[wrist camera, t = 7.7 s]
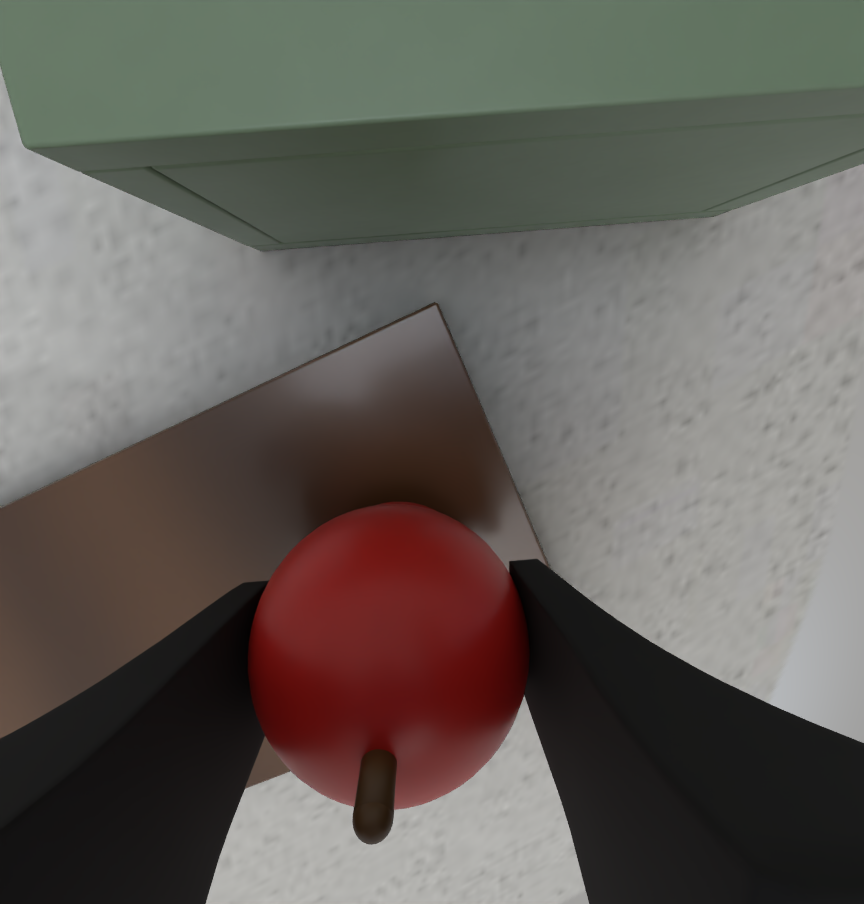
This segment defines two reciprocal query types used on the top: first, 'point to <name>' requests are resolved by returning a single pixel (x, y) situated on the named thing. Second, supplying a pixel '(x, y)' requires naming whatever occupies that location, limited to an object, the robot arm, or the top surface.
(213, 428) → the board
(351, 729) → the apple
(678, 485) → the top surface
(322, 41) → the cabinet
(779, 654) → the top surface
